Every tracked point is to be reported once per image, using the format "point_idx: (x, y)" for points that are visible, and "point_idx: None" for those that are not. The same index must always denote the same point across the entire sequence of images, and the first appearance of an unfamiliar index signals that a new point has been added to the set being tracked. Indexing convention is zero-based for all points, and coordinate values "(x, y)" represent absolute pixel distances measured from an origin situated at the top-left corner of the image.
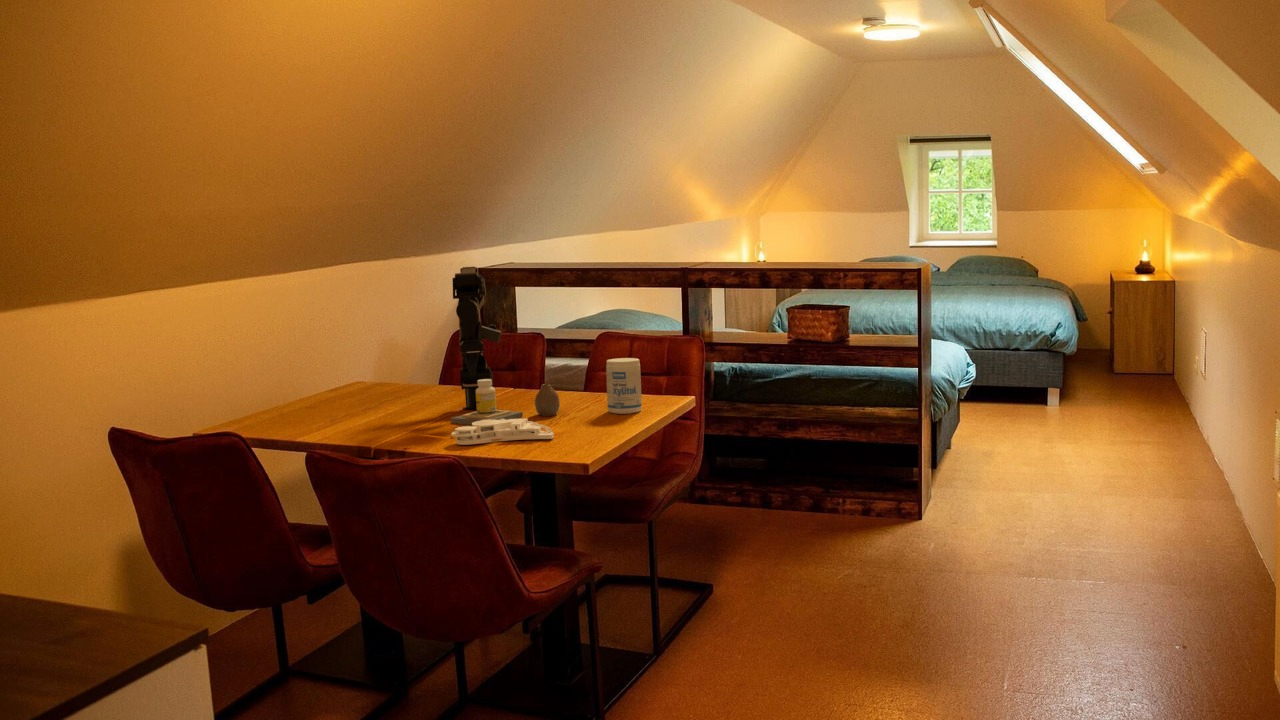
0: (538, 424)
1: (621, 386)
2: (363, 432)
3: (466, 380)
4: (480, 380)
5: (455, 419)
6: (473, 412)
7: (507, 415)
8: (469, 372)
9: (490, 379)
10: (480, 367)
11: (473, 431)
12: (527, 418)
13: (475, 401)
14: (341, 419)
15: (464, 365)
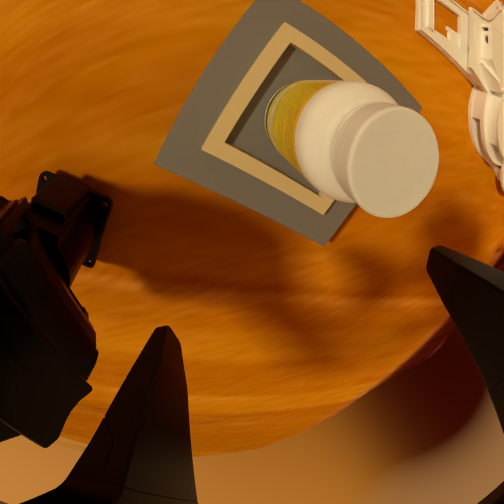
0: (497, 13)
1: None
2: (346, 363)
3: (90, 324)
4: (402, 195)
5: (335, 227)
6: (279, 182)
7: (339, 38)
8: (72, 347)
9: (391, 117)
10: (17, 314)
11: None
12: (491, 24)
13: (86, 231)
14: (199, 418)
15: (68, 401)
